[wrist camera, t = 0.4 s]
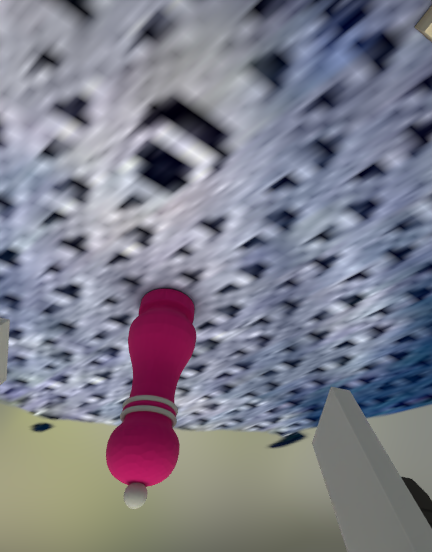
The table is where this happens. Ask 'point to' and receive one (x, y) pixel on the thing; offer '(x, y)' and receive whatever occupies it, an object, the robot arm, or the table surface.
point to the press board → (426, 24)
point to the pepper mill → (152, 394)
